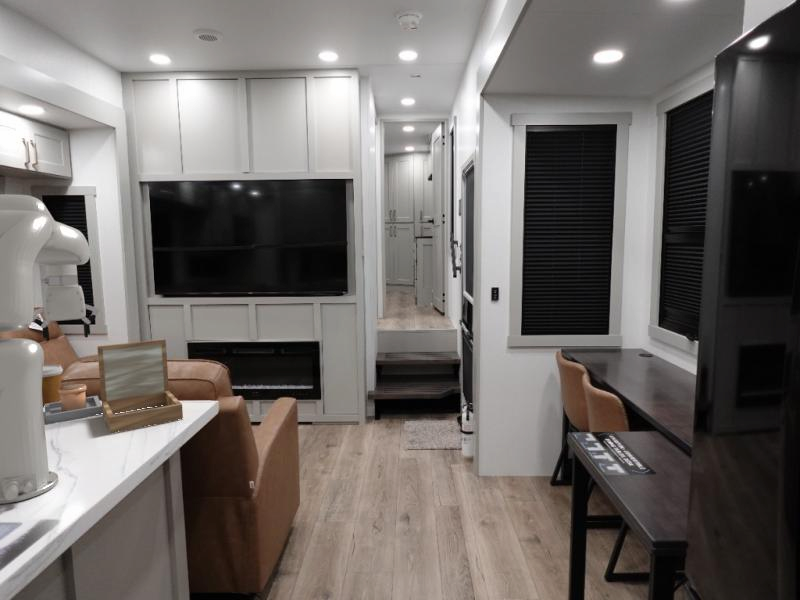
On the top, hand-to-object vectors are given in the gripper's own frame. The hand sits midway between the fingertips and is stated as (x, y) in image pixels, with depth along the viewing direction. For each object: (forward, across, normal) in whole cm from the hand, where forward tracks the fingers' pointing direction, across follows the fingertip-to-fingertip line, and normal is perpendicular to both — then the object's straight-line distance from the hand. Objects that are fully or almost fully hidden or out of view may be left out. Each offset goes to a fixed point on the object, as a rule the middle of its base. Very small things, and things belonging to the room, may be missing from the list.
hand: (67, 338), depth 150 cm
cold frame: (+23, +16, -18) cm, 33 cm away
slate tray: (+23, 0, 0) cm, 23 cm away
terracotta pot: (+22, 0, 0) cm, 22 cm away
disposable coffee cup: (+23, -6, +16) cm, 29 cm away
